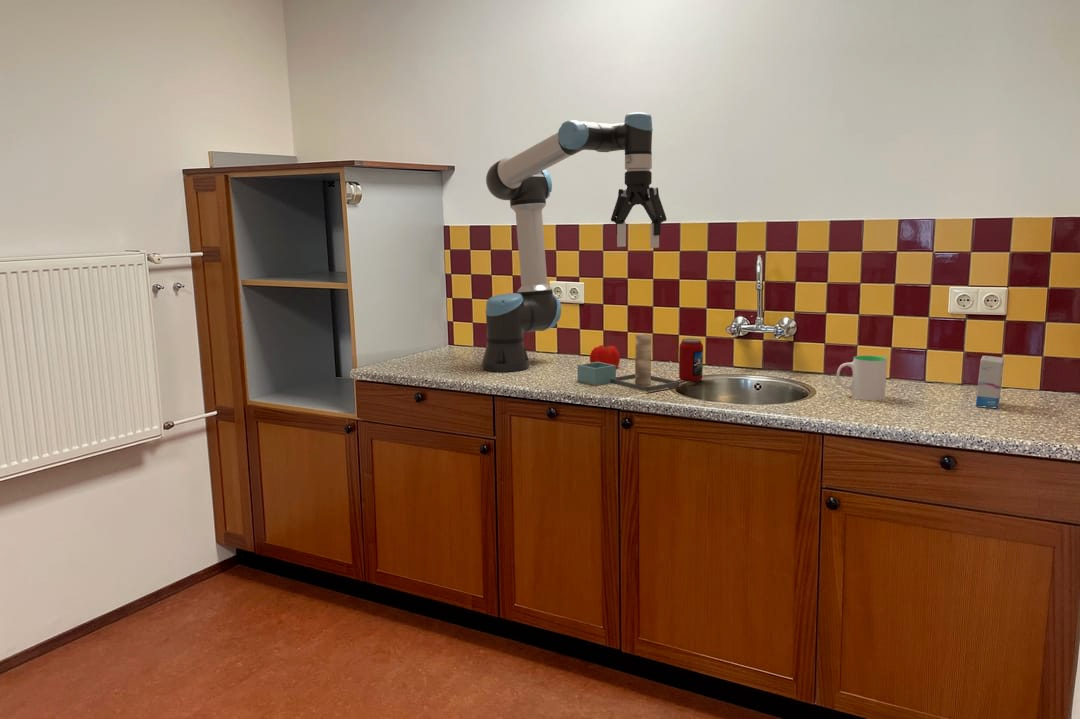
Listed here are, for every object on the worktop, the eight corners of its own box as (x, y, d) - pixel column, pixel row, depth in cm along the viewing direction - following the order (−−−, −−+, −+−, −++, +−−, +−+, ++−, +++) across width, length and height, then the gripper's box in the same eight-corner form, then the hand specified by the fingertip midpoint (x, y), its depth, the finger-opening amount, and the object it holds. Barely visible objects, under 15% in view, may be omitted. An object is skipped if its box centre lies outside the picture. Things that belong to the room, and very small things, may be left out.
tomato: (617, 366, 257) (617, 343, 256) (621, 372, 249) (621, 348, 247) (588, 367, 257) (588, 344, 256) (591, 372, 248) (590, 348, 247)
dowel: (631, 383, 228) (632, 335, 225) (643, 381, 231) (643, 333, 228) (642, 386, 225) (643, 337, 222) (654, 384, 227) (654, 335, 224)
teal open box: (577, 383, 233) (577, 364, 232) (598, 380, 237) (598, 361, 236) (595, 387, 226) (594, 368, 225) (615, 384, 231) (615, 365, 230)
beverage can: (702, 383, 231) (703, 341, 228) (678, 382, 232) (679, 341, 230) (702, 378, 237) (703, 338, 235) (679, 378, 238) (679, 338, 236)
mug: (835, 398, 209) (837, 359, 207) (835, 392, 217) (837, 354, 215) (885, 401, 205) (887, 361, 203) (884, 395, 212) (886, 356, 211)
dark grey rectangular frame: (608, 384, 230) (608, 378, 230) (639, 379, 237) (639, 373, 237) (647, 394, 218) (647, 387, 217) (678, 387, 225) (679, 381, 224)
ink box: (998, 409, 195) (1002, 361, 193) (975, 407, 198) (979, 359, 196) (1000, 402, 202) (1004, 356, 200) (977, 400, 205) (981, 354, 203)
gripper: (598, 172, 233) (599, 246, 236) (660, 167, 213) (659, 248, 217) (618, 173, 237) (618, 245, 241) (680, 168, 217) (678, 247, 221)
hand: (637, 247), depth 229 cm, fingers open, 13 cm apart
